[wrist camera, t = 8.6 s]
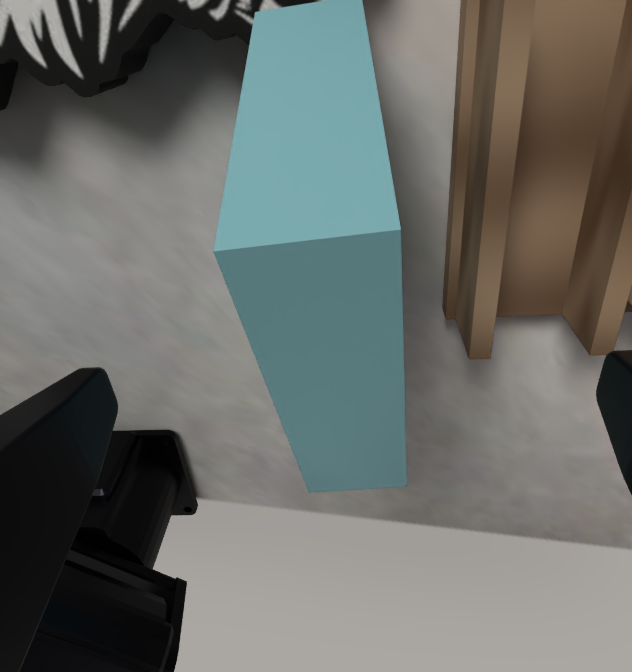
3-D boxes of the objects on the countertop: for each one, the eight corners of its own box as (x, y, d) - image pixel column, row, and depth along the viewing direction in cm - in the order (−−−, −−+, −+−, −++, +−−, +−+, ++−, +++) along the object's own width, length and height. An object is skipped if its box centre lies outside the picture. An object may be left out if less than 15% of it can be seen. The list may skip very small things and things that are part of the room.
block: (379, 260, 22) (406, 486, 16) (309, 267, 22) (309, 492, 16) (361, -6, 14) (401, 229, 8) (255, 11, 15) (213, 251, 8)
